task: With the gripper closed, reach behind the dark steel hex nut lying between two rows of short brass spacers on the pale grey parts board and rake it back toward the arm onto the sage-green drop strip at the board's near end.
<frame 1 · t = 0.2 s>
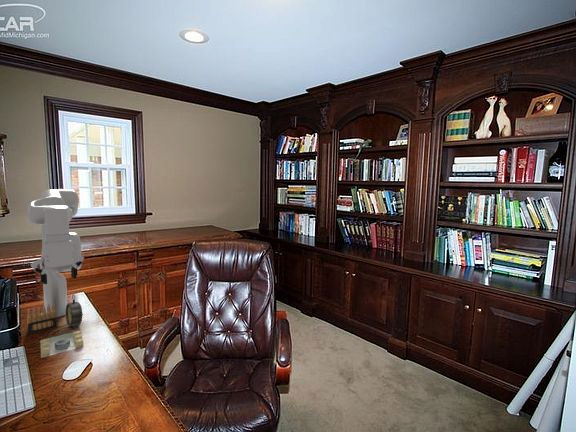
hand: (59, 280, 119), 30 cm above the table, fingers open, 9 cm apart
steel nut: (62, 347, 125), resting on spacer board
spacer board: (61, 344, 128), on the table
alarm clock: (75, 327, 144), on the table
ammunition clip: (42, 330, 140), on the table
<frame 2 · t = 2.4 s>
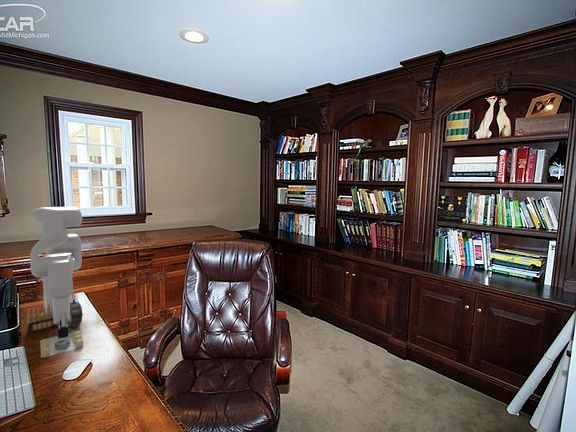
hand: (63, 336, 117), 9 cm above the table, fingers closed
nothing on the table moved.
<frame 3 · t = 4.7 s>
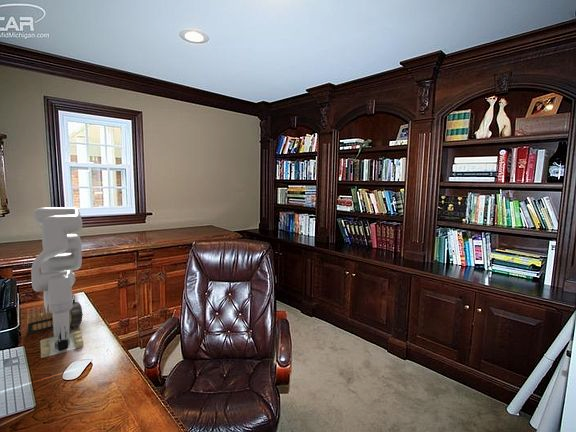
hand: (63, 348, 122), 1 cm above the table, fingers closed
steel nut: (62, 346, 125), point 1 cm above the table, touching gripper
everything else where it was.
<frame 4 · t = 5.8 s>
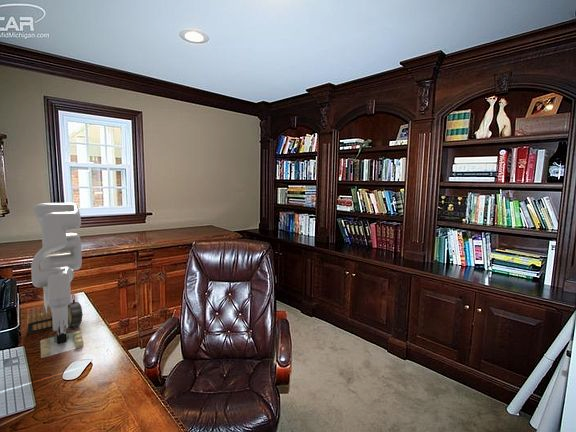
hand: (61, 342, 127), 1 cm above the table, fingers closed
steel nut: (61, 340, 130), resting on spacer board, touching gripper
everything else where it was.
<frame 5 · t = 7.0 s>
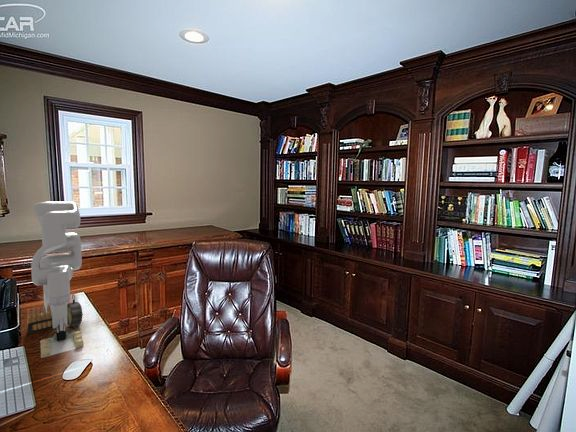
hand: (61, 339, 129), 1 cm above the table, fingers closed
steel nut: (61, 337, 132), resting on spacer board, touching gripper
everything else where it was.
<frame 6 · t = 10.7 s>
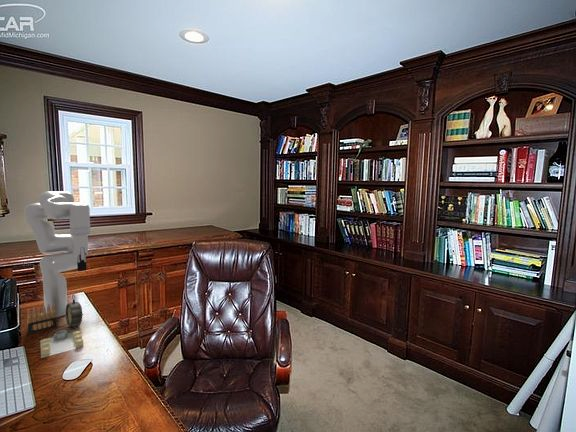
hand: (82, 270, 137), 29 cm above the table, fingers closed
steel nut: (61, 337, 132), resting on spacer board
everything else where it was.
at the end: steel nut inside the target area on the spacer board (0.2 cm from its centre), point 0.5 cm above the spacer board's base; steel nut moved 9.6 cm from its start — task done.
